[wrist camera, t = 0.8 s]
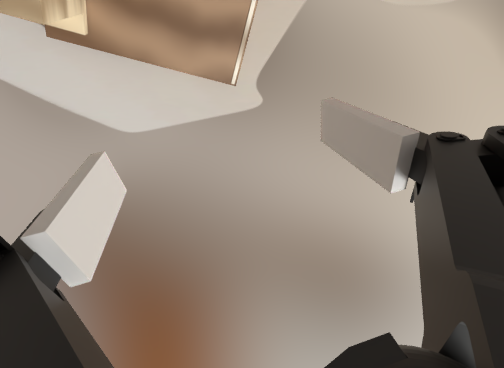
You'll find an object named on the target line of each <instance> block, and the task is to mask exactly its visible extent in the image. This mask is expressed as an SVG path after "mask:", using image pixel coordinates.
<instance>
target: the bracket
mask: <svg viewBox="0 0 504 368" xmlns="http://www.w3.org/2000/svg"><path fill="white" fill-rule="evenodd" d="M0 13H3V14H7V15H10V16H14V17H17V18H21V19H25V20H28V21H32V22H35V23H39V24H43V25H45V24H46V25H50V26H54V27H57V28H61V29H64V30H68V31H72V32H75V33H79V34H82V35H86V34H88V27H87V13H86V0H0Z"/></svg>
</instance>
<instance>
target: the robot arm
mask: <svg viewBox="0 0 504 368" xmlns="http://www.w3.org/2000/svg"><path fill="white" fill-rule="evenodd" d="M321 141H322V142H323V143H324V144H326V145H327V146H328V147H330V148H331V149H332V150H334V151H335V152H336V153H338V154H339V155H340V156H342V157H343V158H344V159H346V160H347V161H348V162H350V163H351V164H352V165H354V166H355V167H356V168H358V169H359V170H360V171H362V172H363V173H365V174H366V175H367V176H368V177H370V178H371V179H372V180H374V181H375V182H376V183H378V184H379V185H380V186H382V187H383V188H384V189H386V190H387V191H388V192H390V193H393V192H396V191H400V190H404V189H406V185H407V181H408V178H411V179H413V180H414V181H416V182H415V186H414V189H413V193H412V196H411V200H410V202H411V203H413V201H414V202H415V214H416V227H417V241H418V254H419V267H420V280H421V293H422V306H423V319H424V336H423V341H422V347H421V348H420V347H415V346H407V345H398V344H397V342H396V341H395V339H394V338H393V337H392V336H391V334H390V333H386V334H384V335H381V336H378V337H375V338H373V339H370V340H367V341H365V342H362V343H359V344H357V345H354V346H351V347H349V348H348V349H346V350H345V351H344V352H343V353H342V354H340V355H339V356H338V357H337V358H335V359H334V360H333V361H332V362H331V363H329V364H328V365H327V366H326V367H324V368H504V126H494V127H490V128H488V129H487V131H486V133H485V135H484V138H483V139H480V140H470V139H469V138H468V137H467V136H465V135H462V134H459V133H454V132H436V133H432V134H430V135H428V134H425V133H422V132H420V131H417V130H415V129H412V128H409V127H407V126H404V125H402V124H399V123H397V122H394V121H391V120H388V119H386V118H383V117H381V116H378V115H376V114H373V113H370V112H368V111H365V110H363V109H360V108H358V107H355V106H353V105H350V104H347V103H345V102H342V101H340V100H337V99H335V98H328V99H324V100H321ZM126 192H127V190H126V188H125V186H124V184H123V183H122V181H121V179H120V177H119V176H118V174H117V172H116V170H115V168H114V167H113V165H112V163H111V161H110V160H109V158H108V156H107V154H106V152H105V151H103V152H99V153H95V154H91V155H90V156H89V157H88V158H87V159H86V161H85V162H84V163H83V164H82V165H81V167H80V168H79V169H78V170H77V171H76V172H75V174H74V175H73V176H72V177H71V178H70V180H69V181H68V182H67V183H66V184H65V185H64V187H63V188H62V189H61V190H60V191H59V193H58V194H57V195H56V196H55V197H54V199H53V200H52V201H51V202H50V203H49V204H48V206H47V207H46V208H45V209H44V210H42V211H41V212H40V213H39V214H38V215H37V216H36V217H35V218H34V219H33V221H32V222H31V223H30V224H29V225H28V226H27V229H25V230H24V231H23V232H22V233H21V235H20V236H19V237H18V238H17V239H16V241H15V242H14V243H13V244H12V245H10V244H9V243H7V242H6V241H5V240H4V239H3V238H2V237H1V236H0V368H114V367H113V366H112V364H111V363H110V361H109V360H108V358H107V357H106V356H105V354H104V353H103V351H102V350H101V348H100V347H99V345H98V344H97V343H96V341H95V340H94V339H93V337H92V335H91V334H90V333H89V331H88V330H87V328H86V327H85V325H84V324H83V322H82V321H81V319H80V318H79V317H78V315H77V314H76V312H75V311H74V309H73V308H72V306H71V305H70V304H69V302H68V301H67V299H66V298H65V296H64V295H63V294H62V292H61V291H60V290H58V289H57V288H56V286H57V284H58V282H59V280H60V279H62V280H64V282H66V283H67V284H68V285H69V286H70V287H73V286H76V285H80V284H83V283H86V282H90V281H91V279H92V277H93V274H94V272H95V269H96V267H97V264H98V262H99V259H100V257H101V254H102V252H103V249H104V247H105V244H106V242H107V239H108V237H109V234H110V231H111V229H112V227H113V224H114V222H115V219H116V217H117V214H118V211H119V209H120V207H121V204H122V202H123V199H124V197H125V194H126Z"/></svg>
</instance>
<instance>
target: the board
mask: <svg viewBox="0 0 504 368" xmlns="http://www.w3.org/2000/svg"><path fill="white" fill-rule="evenodd" d="M257 3H258V0H86V13H87V27H88V34H86V35H82V34H79V33H75V32H72V31H68V30H64V29H61V28H57V27H54V26H50V25H46V24H45V30H46V36H47V37H50V38H54V39H58V40H62V41H66V42H69V43H73V44H77V45H81V46H85V47H89V48H92V49H96V50H100V51H104V52H108V53H111V54H115V55H119V56H123V57H127V58H130V59H134V60H138V61H142V62H146V63H150V64H153V65H157V66H161V67H165V68H169V69H172V70H176V71H180V72H184V73H188V74H191V75H195V76H199V77H203V78H207V79H211V80H214V81H218V82H222V83H226V84H230V85H233V86H236V83H237V79H238V75H239V71H240V67H241V64H242V60H243V56H244V52H245V48H246V45H247V41H248V37H249V33H250V29H251V26H252V22H253V18H254V14H255V10H256V6H257Z"/></svg>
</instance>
